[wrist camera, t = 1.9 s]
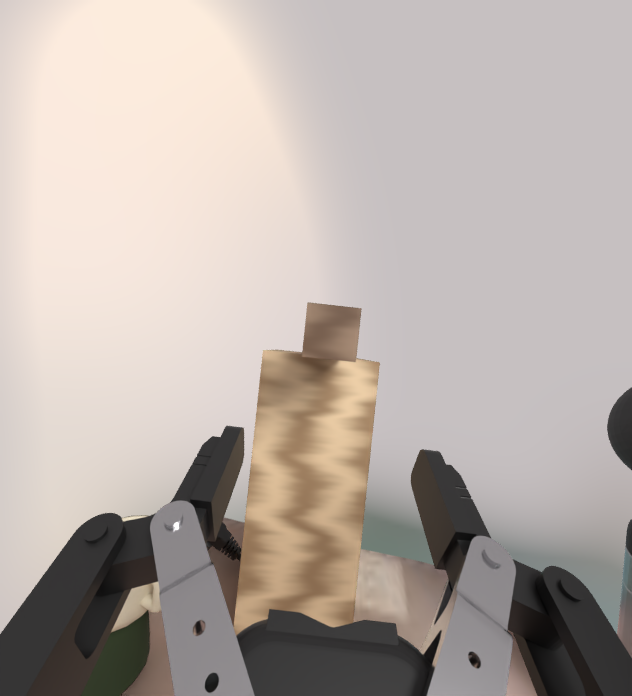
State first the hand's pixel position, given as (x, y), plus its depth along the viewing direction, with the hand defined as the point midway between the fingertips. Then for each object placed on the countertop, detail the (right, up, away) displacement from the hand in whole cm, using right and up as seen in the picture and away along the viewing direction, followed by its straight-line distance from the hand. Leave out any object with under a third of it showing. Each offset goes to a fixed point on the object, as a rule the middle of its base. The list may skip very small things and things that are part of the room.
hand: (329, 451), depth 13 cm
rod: (0, +4, +19) cm, 20 cm away
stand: (-4, -28, +23) cm, 37 cm away
